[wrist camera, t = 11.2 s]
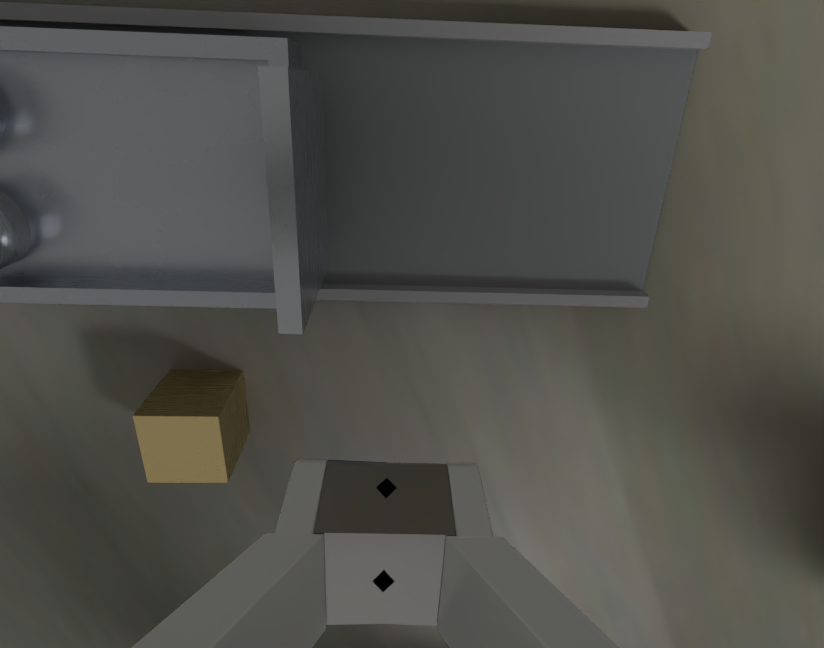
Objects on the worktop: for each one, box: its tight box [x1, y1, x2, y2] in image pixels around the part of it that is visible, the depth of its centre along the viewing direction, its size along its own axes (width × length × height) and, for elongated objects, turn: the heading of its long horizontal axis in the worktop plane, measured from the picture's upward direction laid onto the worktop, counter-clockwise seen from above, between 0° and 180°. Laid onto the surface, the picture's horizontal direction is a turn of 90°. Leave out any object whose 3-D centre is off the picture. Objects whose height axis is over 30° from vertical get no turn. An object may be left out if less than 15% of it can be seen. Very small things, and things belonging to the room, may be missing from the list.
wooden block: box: [133, 370, 250, 483], centre depth 28 cm, size 4×4×4 cm
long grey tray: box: [0, 26, 328, 334], centre depth 20 cm, size 17×10×9 cm, turn 88°
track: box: [0, 2, 712, 308], centre depth 23 cm, size 34×12×3 cm, turn 88°
